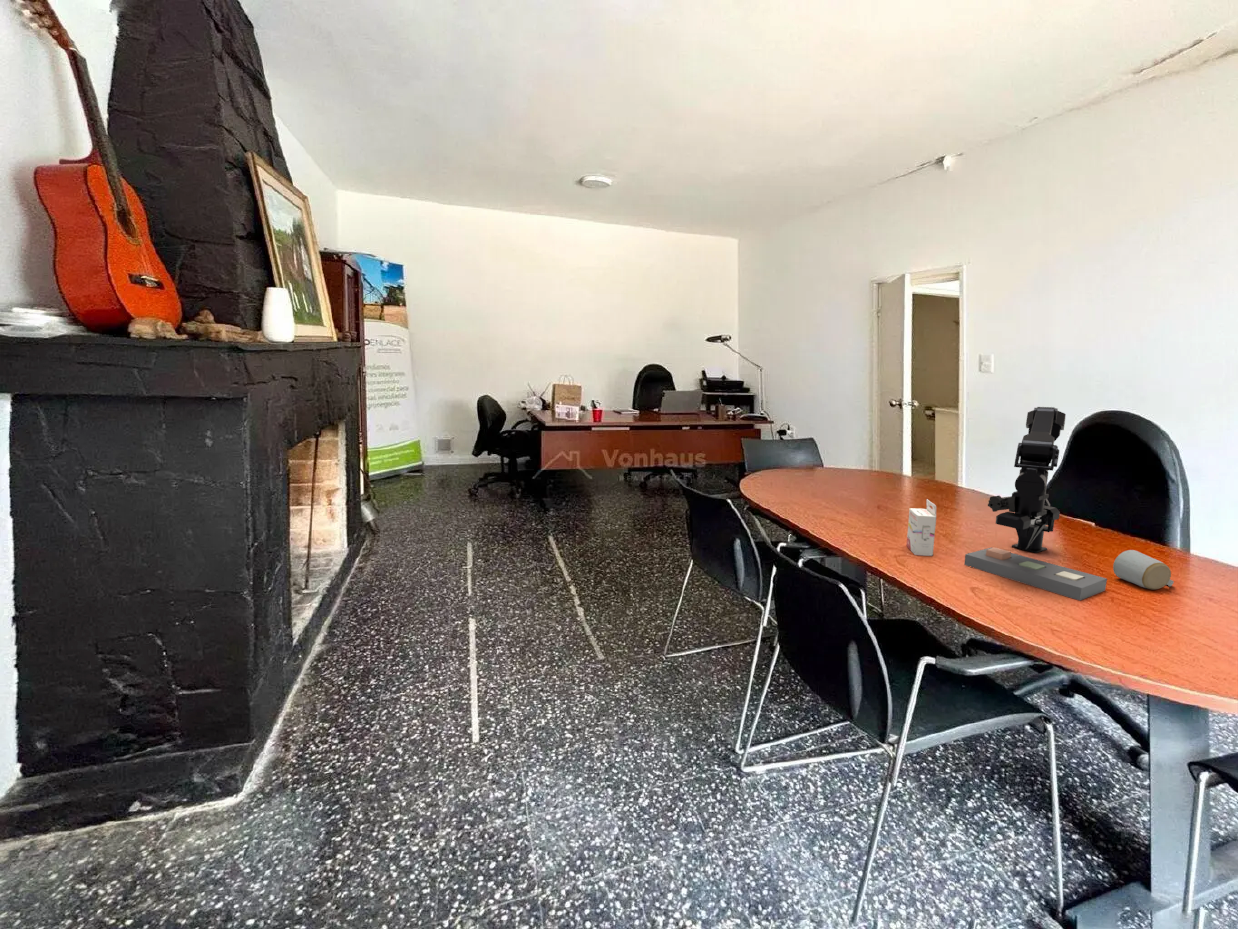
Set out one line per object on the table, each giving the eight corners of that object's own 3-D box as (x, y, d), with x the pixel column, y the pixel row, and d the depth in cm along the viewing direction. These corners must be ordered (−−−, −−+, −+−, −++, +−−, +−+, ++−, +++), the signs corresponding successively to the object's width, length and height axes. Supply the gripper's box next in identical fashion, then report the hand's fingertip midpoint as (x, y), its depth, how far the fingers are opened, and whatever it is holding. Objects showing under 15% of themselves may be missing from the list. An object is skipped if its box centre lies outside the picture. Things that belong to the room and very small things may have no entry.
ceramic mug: (1142, 591, 130) (1148, 560, 129) (1109, 578, 138) (1115, 549, 137) (1184, 591, 131) (1190, 560, 129) (1149, 578, 139) (1154, 549, 137)
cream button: (1062, 580, 135) (1063, 571, 134) (1082, 586, 131) (1083, 576, 131) (1053, 583, 133) (1055, 573, 133) (1073, 589, 130) (1075, 579, 129)
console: (990, 557, 153) (991, 547, 153) (1105, 590, 131) (1107, 578, 130) (964, 564, 148) (965, 554, 147) (1079, 600, 125) (1081, 588, 125)
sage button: (1026, 570, 142) (1027, 561, 141) (1043, 575, 138) (1045, 565, 138) (1017, 573, 140) (1018, 563, 140) (1035, 578, 137) (1036, 568, 136)
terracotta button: (994, 556, 149) (995, 547, 148) (1010, 560, 145) (1011, 551, 145) (985, 558, 147) (986, 549, 146) (1001, 563, 143) (1002, 554, 143)
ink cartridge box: (905, 545, 164) (909, 497, 161) (923, 546, 163) (927, 498, 160) (914, 555, 156) (919, 504, 153) (933, 556, 155) (938, 505, 152)
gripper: (1015, 479, 149) (1008, 534, 152) (976, 487, 140) (970, 546, 143) (1064, 487, 139) (1056, 545, 142) (1026, 496, 130) (1018, 559, 133)
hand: (1023, 548), depth 140 cm, fingers closed
